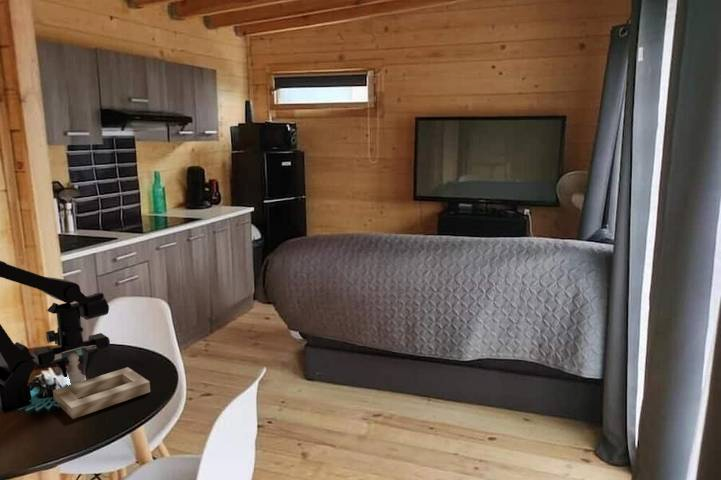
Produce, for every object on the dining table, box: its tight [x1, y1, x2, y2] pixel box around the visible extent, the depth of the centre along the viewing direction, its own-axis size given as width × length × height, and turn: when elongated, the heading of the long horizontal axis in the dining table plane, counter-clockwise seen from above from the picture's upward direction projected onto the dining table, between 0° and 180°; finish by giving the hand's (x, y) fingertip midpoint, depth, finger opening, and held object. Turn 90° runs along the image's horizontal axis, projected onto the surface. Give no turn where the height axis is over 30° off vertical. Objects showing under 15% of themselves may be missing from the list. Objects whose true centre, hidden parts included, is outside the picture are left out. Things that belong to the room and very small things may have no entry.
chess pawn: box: [68, 353, 87, 385], centre depth 155 cm, size 5×5×9 cm
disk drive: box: [34, 346, 83, 369], centre depth 174 cm, size 10×3×15 cm
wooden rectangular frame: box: [52, 366, 151, 420], centre depth 147 cm, size 20×14×3 cm
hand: (75, 376), depth 156 cm, fingers open, 5 cm apart
